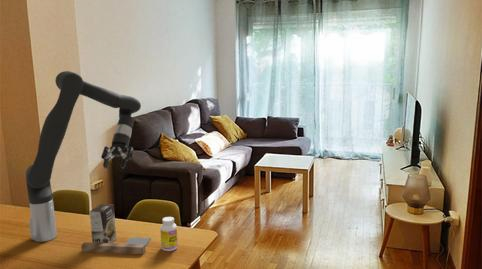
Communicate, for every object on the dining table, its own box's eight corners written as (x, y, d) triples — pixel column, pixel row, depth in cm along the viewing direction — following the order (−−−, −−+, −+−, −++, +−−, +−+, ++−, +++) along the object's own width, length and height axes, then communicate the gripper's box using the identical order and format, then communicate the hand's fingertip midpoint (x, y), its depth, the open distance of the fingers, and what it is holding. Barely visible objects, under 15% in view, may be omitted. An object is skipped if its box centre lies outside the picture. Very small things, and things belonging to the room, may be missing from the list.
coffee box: (106, 248, 164) (103, 212, 161) (92, 247, 165) (88, 211, 162) (117, 239, 173) (114, 204, 170) (103, 237, 174) (100, 203, 171)
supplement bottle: (169, 253, 159) (168, 223, 157) (158, 249, 163) (156, 219, 161) (181, 246, 165) (179, 217, 162) (169, 242, 169) (168, 214, 166)
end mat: (121, 249, 163) (121, 248, 163) (130, 238, 173) (130, 237, 173) (142, 250, 162) (142, 249, 162) (150, 239, 172) (150, 238, 172)
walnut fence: (82, 251, 162) (81, 245, 161) (84, 249, 164) (84, 242, 164) (143, 254, 159) (142, 247, 158) (145, 251, 161) (145, 244, 161)
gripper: (104, 132, 184) (95, 164, 176) (132, 131, 180) (123, 164, 173) (112, 140, 190) (103, 171, 182) (139, 139, 187) (131, 171, 179)
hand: (113, 167), depth 178 cm, fingers open, 8 cm apart
